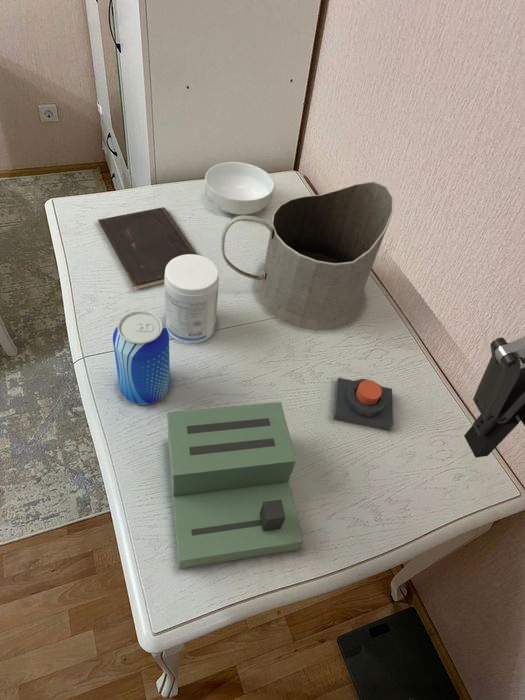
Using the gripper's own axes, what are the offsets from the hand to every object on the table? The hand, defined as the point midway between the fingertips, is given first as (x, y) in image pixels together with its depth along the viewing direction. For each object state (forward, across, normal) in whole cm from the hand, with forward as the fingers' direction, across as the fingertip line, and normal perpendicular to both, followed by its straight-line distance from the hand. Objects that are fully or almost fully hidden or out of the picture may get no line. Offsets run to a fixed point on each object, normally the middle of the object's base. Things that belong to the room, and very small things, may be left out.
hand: (475, 445), depth 54 cm
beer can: (+28, +34, -32) cm, 55 cm away
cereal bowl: (+28, +8, -86) cm, 91 cm away
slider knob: (+24, +18, -4) cm, 31 cm away
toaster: (+28, +23, -10) cm, 38 cm away
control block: (+28, -3, -23) cm, 37 cm away
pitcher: (+28, +2, -53) cm, 60 cm away
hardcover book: (+28, +30, -69) cm, 81 cm away
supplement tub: (+28, +24, -46) cm, 59 cm away
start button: (+24, -3, -23) cm, 33 cm away
